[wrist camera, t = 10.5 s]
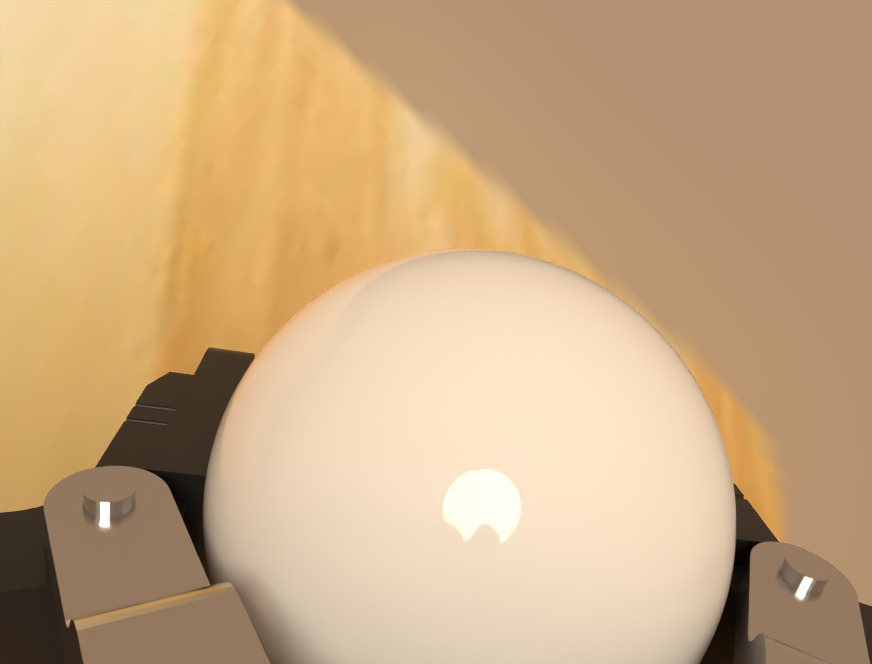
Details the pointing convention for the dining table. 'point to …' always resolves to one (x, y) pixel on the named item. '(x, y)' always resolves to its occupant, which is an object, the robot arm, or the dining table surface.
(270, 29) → the dining table surface
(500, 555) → the lightbulb
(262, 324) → the dining table surface
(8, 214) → the dining table surface
